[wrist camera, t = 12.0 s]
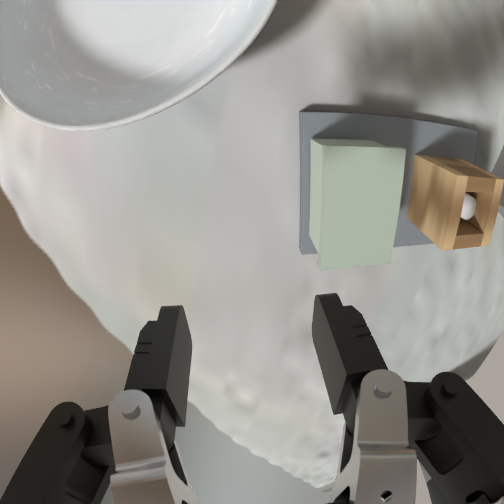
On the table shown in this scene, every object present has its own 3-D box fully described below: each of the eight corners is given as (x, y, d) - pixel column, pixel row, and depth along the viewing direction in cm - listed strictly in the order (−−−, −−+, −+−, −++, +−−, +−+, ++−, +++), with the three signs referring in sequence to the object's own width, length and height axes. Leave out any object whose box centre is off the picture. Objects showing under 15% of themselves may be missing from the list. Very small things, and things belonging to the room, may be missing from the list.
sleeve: (452, 216, 25) (488, 245, 20) (406, 218, 25) (441, 250, 19) (461, 159, 22) (504, 179, 17) (414, 154, 22) (456, 175, 16)
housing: (366, 234, 25) (389, 263, 21) (305, 238, 25) (319, 270, 21) (374, 136, 21) (405, 148, 16) (306, 134, 20) (325, 145, 16)
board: (453, 236, 27) (486, 265, 22) (299, 247, 27) (315, 289, 22) (470, 129, 21) (513, 143, 16) (299, 111, 21) (322, 117, 16)
